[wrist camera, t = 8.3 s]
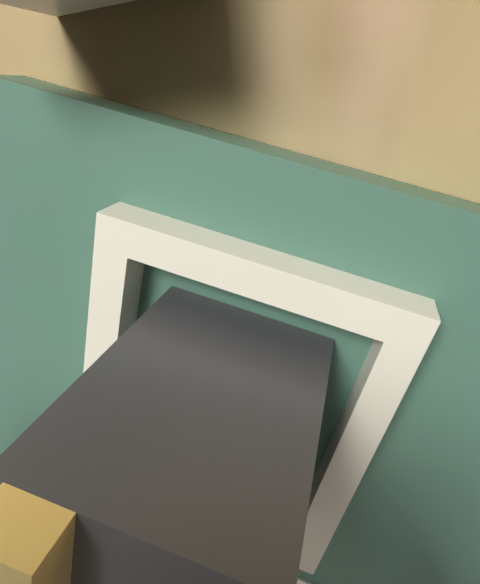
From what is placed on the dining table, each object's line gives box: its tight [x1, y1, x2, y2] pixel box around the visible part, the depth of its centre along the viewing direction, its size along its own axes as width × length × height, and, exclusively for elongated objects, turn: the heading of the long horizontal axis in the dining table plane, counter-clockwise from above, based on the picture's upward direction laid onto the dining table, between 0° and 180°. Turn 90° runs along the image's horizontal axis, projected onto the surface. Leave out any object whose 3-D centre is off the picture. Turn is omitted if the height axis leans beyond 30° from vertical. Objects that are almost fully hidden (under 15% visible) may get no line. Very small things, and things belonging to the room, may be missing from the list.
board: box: [0, 75, 480, 584], centre depth 12 cm, size 16×14×2 cm
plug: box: [0, 286, 334, 584], centre depth 9 cm, size 4×5×7 cm
